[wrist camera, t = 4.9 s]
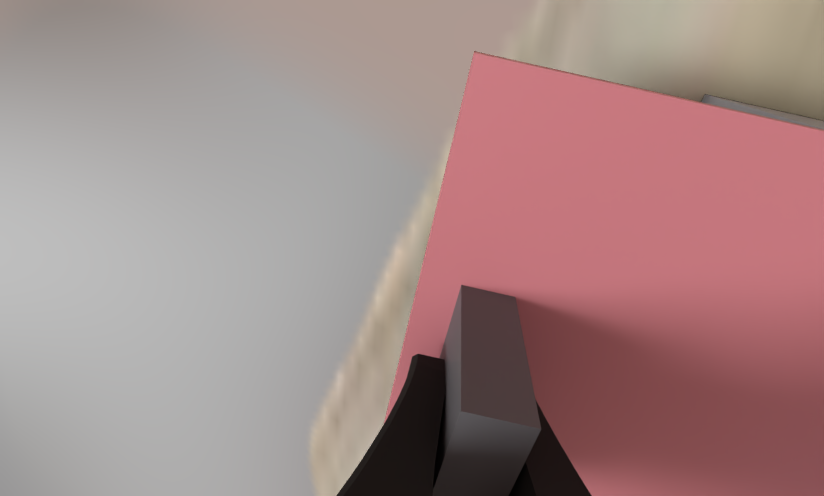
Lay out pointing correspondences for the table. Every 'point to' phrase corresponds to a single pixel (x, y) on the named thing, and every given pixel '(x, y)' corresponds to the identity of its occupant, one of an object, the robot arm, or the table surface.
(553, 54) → the table surface
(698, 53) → the table surface
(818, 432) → the lid
